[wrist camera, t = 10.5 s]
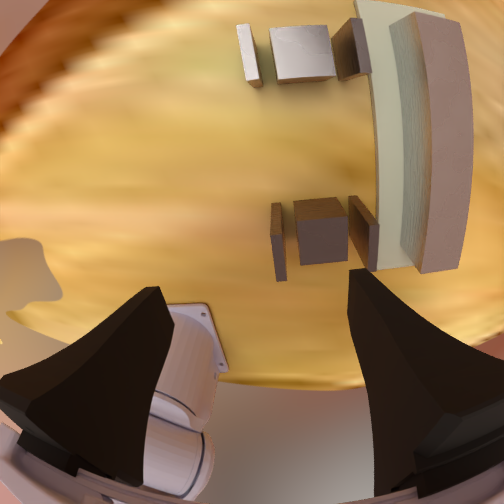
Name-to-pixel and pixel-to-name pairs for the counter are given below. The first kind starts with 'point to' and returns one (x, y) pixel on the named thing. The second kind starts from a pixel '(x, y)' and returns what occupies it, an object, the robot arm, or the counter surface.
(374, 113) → the mat
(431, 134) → the rail
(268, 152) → the counter surface
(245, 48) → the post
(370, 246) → the brown boxy piece
